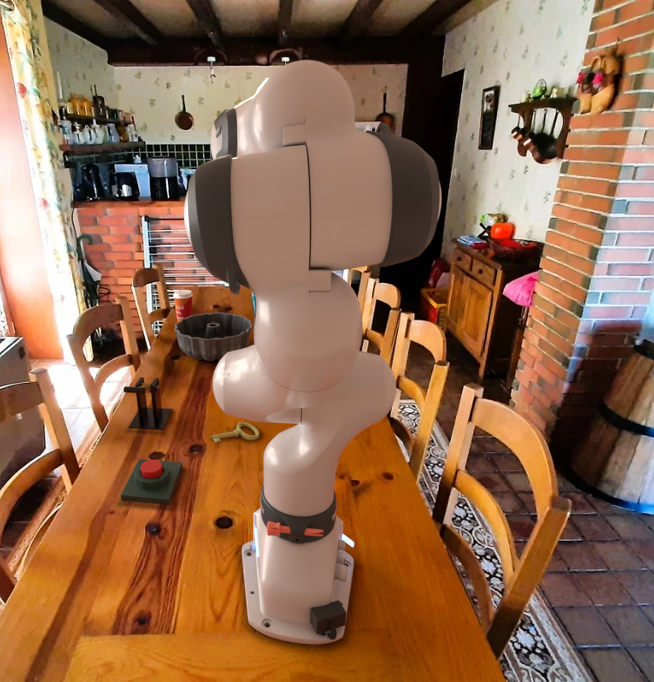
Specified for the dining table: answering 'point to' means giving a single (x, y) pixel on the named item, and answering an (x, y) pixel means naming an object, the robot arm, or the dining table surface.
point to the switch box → (152, 484)
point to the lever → (138, 389)
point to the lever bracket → (150, 409)
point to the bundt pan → (212, 335)
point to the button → (151, 469)
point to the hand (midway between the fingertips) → (288, 263)
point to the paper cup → (183, 304)
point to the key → (238, 433)
